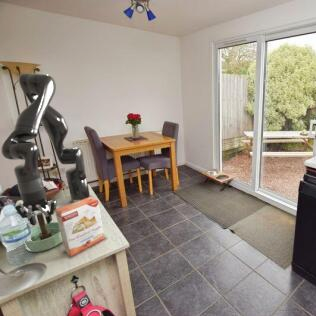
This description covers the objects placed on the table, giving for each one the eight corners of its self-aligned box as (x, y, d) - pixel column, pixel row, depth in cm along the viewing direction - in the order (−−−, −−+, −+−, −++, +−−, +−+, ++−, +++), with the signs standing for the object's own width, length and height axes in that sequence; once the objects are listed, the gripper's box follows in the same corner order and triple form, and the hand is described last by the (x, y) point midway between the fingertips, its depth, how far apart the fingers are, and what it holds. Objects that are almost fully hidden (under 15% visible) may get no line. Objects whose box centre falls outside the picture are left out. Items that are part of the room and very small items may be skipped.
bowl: (35, 234, 104) (32, 224, 102) (71, 229, 108) (69, 219, 107) (18, 255, 91) (14, 245, 89) (59, 249, 96) (56, 238, 94)
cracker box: (71, 257, 92) (60, 214, 85) (64, 251, 95) (53, 209, 88) (105, 239, 103) (98, 199, 96) (98, 234, 106) (91, 195, 99)
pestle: (43, 238, 101) (35, 211, 96) (54, 236, 102) (47, 210, 97) (39, 244, 97) (31, 217, 93) (50, 242, 98) (42, 215, 94)
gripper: (56, 183, 97) (64, 216, 102) (15, 186, 92) (26, 221, 98) (48, 190, 90) (57, 226, 96) (4, 194, 86) (16, 231, 91)
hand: (41, 223), depth 97 cm, fingers open, 4 cm apart
